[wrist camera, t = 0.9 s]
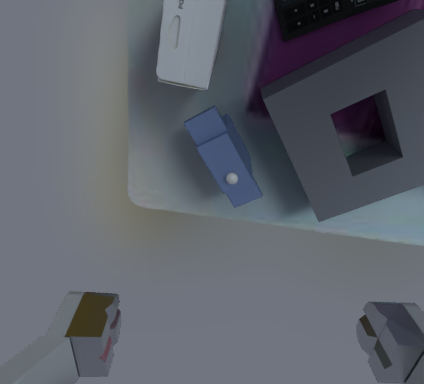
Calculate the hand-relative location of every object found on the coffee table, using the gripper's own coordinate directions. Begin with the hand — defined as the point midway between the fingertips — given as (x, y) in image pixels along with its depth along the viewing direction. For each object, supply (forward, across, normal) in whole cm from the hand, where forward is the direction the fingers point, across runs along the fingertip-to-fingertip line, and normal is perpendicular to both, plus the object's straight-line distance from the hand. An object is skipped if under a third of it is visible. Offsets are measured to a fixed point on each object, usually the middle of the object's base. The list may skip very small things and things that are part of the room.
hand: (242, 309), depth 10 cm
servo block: (+34, -2, +7) cm, 35 cm away
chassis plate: (+33, -18, +2) cm, 37 cm away
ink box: (+34, +2, -7) cm, 35 cm away
